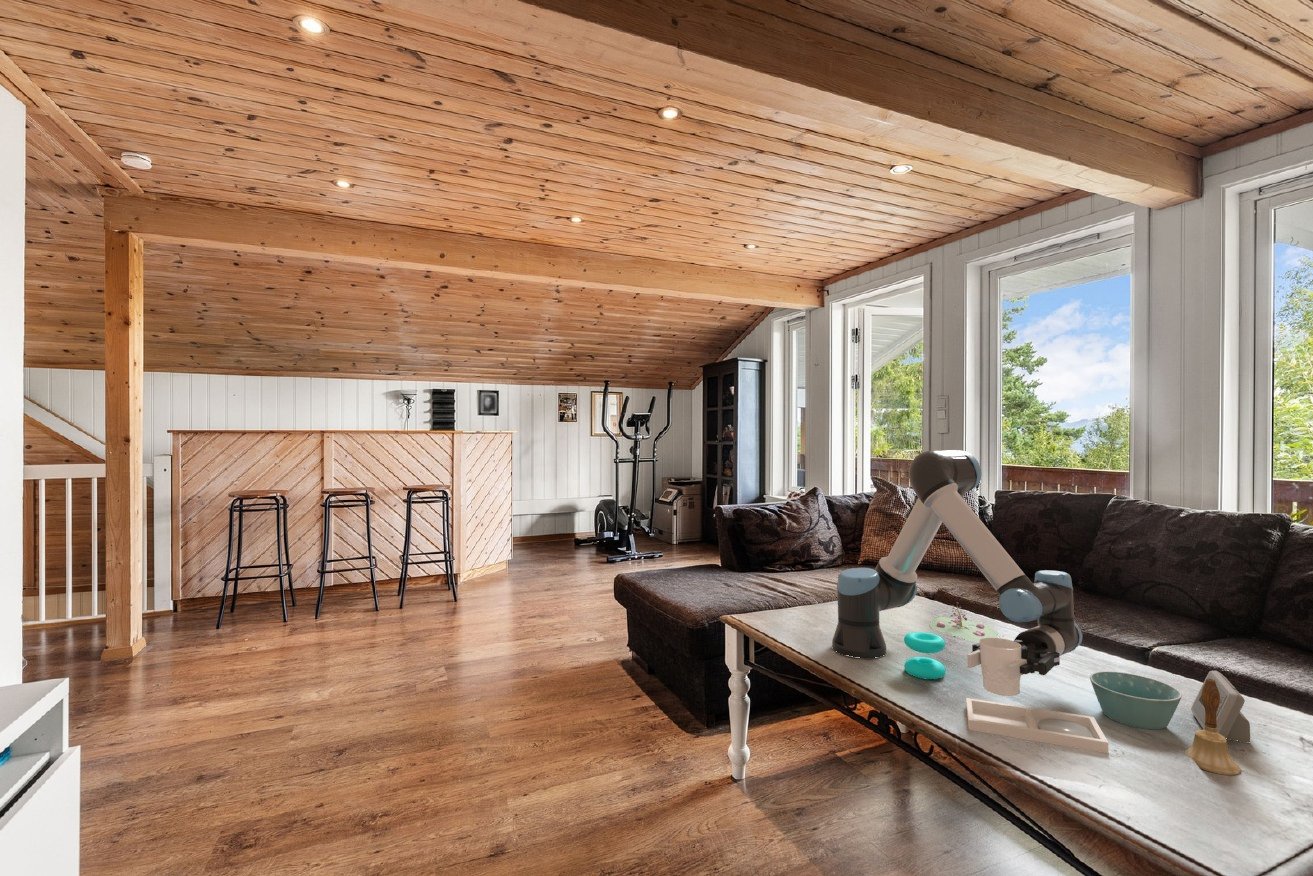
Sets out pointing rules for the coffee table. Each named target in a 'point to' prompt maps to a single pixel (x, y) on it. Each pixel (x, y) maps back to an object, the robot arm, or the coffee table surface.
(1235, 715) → the digital clock
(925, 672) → the donuts
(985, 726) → the tray
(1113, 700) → the bowl
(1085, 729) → the grey flat disc
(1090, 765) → the coffee table surface
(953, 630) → the plant
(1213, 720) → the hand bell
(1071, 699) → the coffee table surface
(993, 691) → the white cup
